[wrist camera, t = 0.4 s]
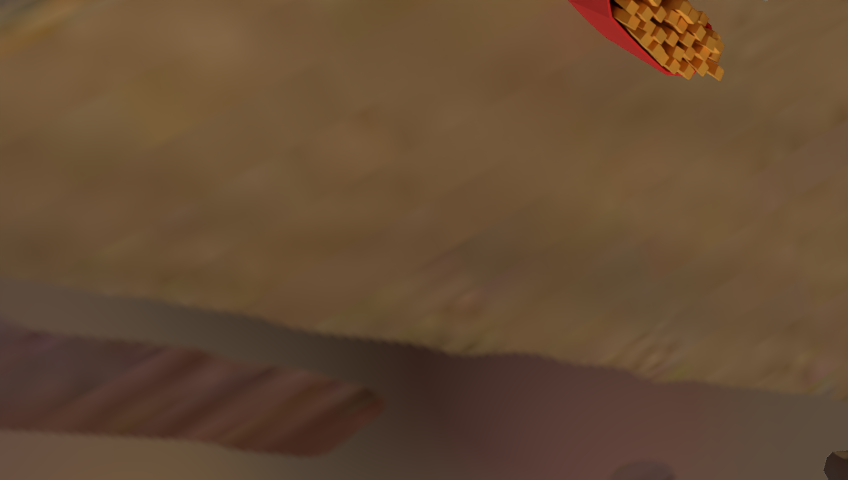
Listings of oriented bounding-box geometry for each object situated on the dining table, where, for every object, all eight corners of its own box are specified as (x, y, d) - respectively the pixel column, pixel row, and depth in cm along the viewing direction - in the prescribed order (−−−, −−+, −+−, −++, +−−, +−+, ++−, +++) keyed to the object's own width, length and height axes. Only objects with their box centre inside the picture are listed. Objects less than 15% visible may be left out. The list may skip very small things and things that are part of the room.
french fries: (662, 13, 53) (755, 51, 42) (622, 57, 54) (703, 105, 43) (582, -72, 50) (661, -53, 39) (541, -23, 50) (606, 8, 40)
